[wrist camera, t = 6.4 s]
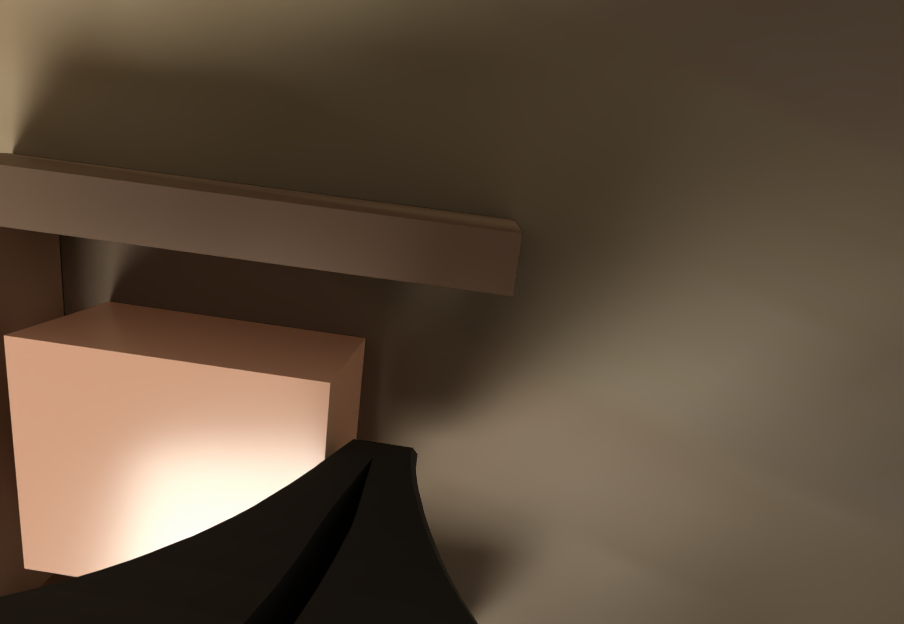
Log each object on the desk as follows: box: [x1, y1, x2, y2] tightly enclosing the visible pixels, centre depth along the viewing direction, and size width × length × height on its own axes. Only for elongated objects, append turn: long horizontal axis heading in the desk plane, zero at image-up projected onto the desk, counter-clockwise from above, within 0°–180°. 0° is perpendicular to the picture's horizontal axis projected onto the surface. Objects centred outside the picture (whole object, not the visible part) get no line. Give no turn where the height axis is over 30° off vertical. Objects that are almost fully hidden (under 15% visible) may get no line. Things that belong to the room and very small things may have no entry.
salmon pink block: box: [4, 302, 365, 577], centre depth 11 cm, size 5×6×3 cm
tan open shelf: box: [0, 153, 523, 597], centre depth 11 cm, size 11×11×3 cm
